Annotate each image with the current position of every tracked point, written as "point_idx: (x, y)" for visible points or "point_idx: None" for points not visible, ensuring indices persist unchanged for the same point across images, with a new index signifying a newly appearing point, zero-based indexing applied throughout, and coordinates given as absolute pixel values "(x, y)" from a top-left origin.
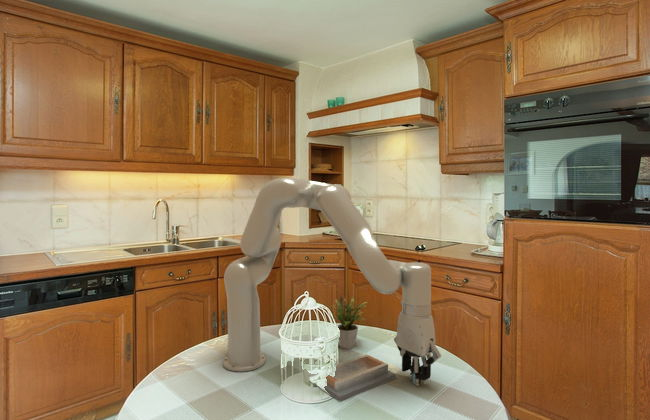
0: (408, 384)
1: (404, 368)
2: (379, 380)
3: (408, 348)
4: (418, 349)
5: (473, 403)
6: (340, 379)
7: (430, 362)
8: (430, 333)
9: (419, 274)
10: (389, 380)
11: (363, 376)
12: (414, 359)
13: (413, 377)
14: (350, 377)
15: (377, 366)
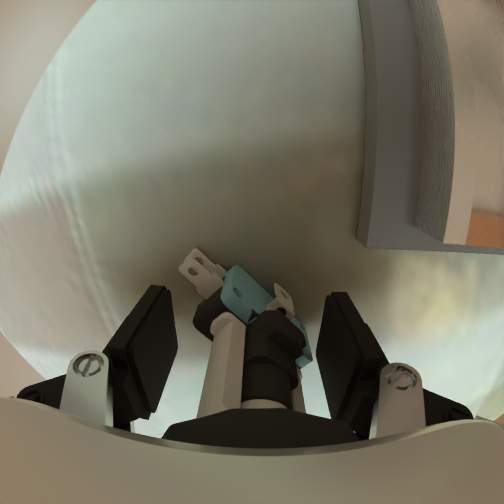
0: (252, 236)
1: (331, 307)
2: (378, 86)
3: (250, 499)
4: (7, 470)
5: (19, 307)
6: None
7: (42, 385)
8: None
9: None
10: (364, 180)
11: (429, 10)
12: (252, 400)
13: (231, 281)
14: None
15: (471, 156)
